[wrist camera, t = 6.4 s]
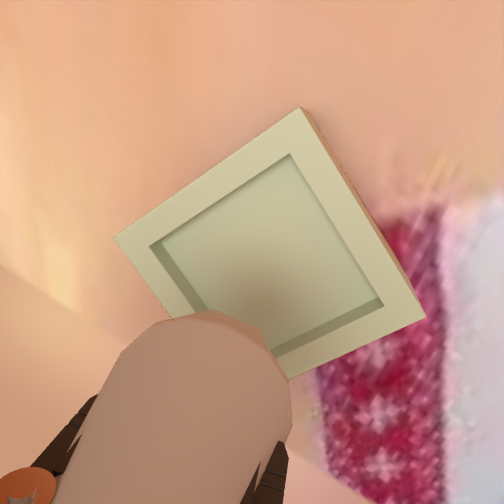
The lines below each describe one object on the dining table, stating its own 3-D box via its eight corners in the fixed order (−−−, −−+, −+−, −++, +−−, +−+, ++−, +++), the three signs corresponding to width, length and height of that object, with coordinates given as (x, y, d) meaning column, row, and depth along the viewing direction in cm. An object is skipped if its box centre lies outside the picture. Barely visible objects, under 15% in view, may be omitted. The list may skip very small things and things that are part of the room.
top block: (409, 279, 27) (426, 317, 22) (250, 357, 32) (234, 404, 26) (306, 109, 25) (299, 106, 20) (151, 216, 30) (112, 237, 24)
